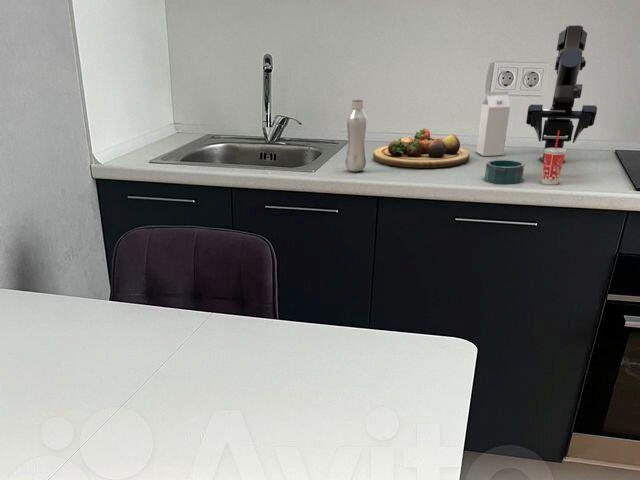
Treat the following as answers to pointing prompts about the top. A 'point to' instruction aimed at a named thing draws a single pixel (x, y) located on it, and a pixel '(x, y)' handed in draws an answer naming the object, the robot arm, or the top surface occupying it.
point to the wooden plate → (423, 151)
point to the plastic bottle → (356, 137)
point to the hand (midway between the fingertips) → (556, 141)
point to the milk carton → (493, 124)
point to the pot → (504, 171)
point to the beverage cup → (553, 164)
